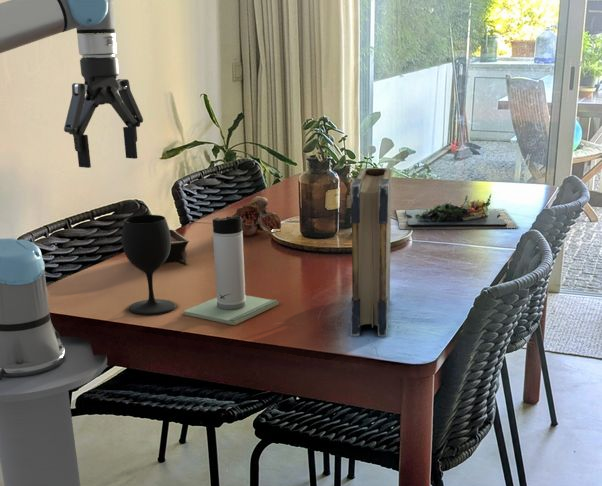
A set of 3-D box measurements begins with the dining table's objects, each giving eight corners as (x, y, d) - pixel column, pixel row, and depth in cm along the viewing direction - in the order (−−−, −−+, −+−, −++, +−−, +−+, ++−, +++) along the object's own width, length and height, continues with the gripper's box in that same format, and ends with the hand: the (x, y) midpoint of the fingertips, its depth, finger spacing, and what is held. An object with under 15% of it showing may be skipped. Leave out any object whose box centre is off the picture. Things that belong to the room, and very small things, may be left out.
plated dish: (502, 208, 281) (503, 186, 278) (519, 229, 255) (520, 205, 252) (394, 211, 283) (394, 189, 280) (400, 232, 257) (400, 208, 254)
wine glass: (119, 312, 189) (110, 222, 182) (146, 298, 198) (138, 212, 191) (158, 317, 185) (151, 225, 178) (185, 303, 194) (178, 215, 187)
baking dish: (183, 259, 237) (177, 223, 235) (195, 265, 221) (188, 226, 218) (131, 269, 234) (124, 232, 231) (139, 275, 217) (131, 236, 215)
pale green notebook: (234, 325, 179) (234, 320, 179) (183, 314, 187) (183, 310, 186) (278, 304, 192) (278, 300, 191) (228, 295, 199) (228, 291, 199)
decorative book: (386, 336, 171) (388, 185, 160) (350, 335, 172) (350, 185, 161) (391, 300, 193) (393, 164, 182) (359, 299, 194) (359, 164, 183)
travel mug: (223, 312, 185) (218, 220, 178) (213, 303, 191) (208, 214, 184) (250, 307, 187) (246, 216, 180) (239, 299, 193) (235, 211, 186)
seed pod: (214, 217, 247) (260, 203, 241) (230, 194, 260) (274, 180, 254) (233, 256, 253) (278, 243, 247) (247, 232, 266) (291, 219, 260)
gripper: (64, 59, 163) (76, 172, 171) (154, 53, 182) (162, 155, 190) (37, 59, 167) (50, 169, 174) (128, 53, 186) (137, 153, 194)
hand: (109, 162), depth 182 cm, fingers open, 13 cm apart
